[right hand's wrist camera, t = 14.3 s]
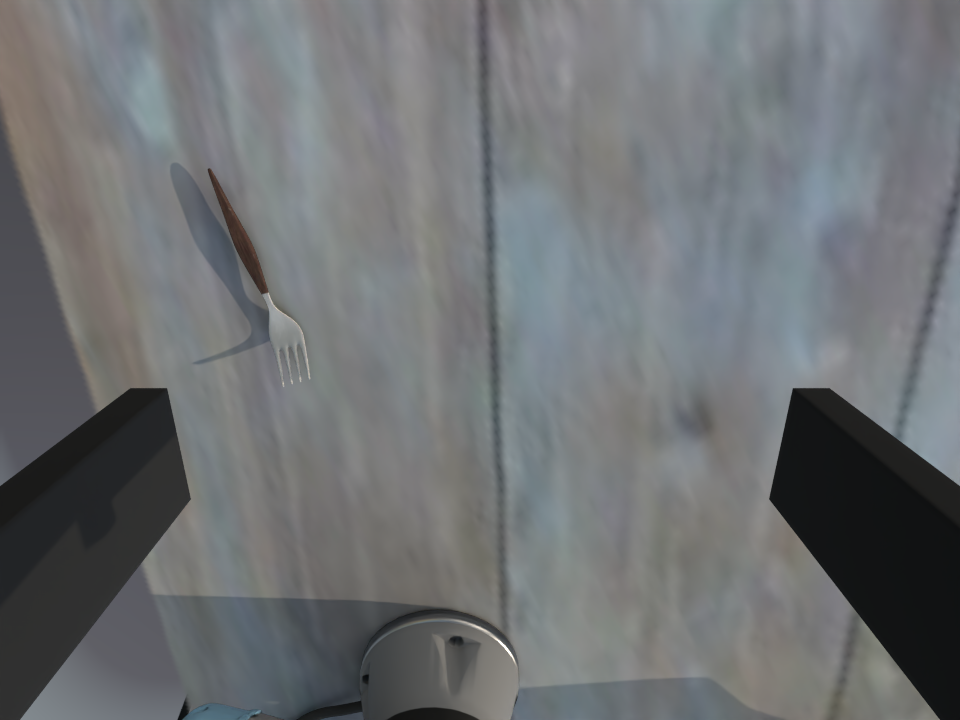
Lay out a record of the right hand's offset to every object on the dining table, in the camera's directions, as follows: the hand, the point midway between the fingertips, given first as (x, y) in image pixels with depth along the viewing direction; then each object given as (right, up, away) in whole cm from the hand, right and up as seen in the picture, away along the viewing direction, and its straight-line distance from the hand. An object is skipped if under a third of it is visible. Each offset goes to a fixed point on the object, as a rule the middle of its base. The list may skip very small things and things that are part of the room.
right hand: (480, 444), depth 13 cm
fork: (-16, +8, +31) cm, 36 cm away
